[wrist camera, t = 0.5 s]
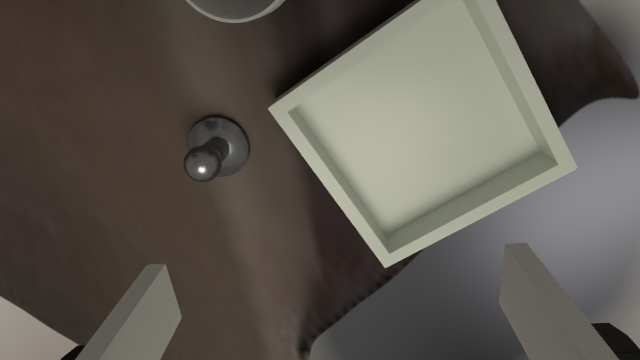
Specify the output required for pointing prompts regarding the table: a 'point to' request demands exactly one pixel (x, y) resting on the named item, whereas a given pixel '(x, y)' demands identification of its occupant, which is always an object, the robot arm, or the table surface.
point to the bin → (425, 125)
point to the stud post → (215, 149)
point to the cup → (235, 9)
